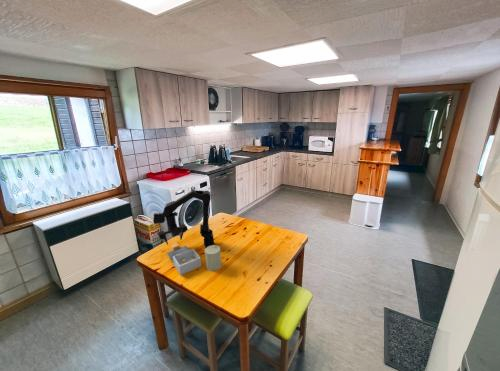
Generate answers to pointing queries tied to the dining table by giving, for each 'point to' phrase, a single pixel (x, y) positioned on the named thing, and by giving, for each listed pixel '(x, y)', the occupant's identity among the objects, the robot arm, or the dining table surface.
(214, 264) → the can
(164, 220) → the robot arm
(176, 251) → the lid
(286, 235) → the dining table surface
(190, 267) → the tub
